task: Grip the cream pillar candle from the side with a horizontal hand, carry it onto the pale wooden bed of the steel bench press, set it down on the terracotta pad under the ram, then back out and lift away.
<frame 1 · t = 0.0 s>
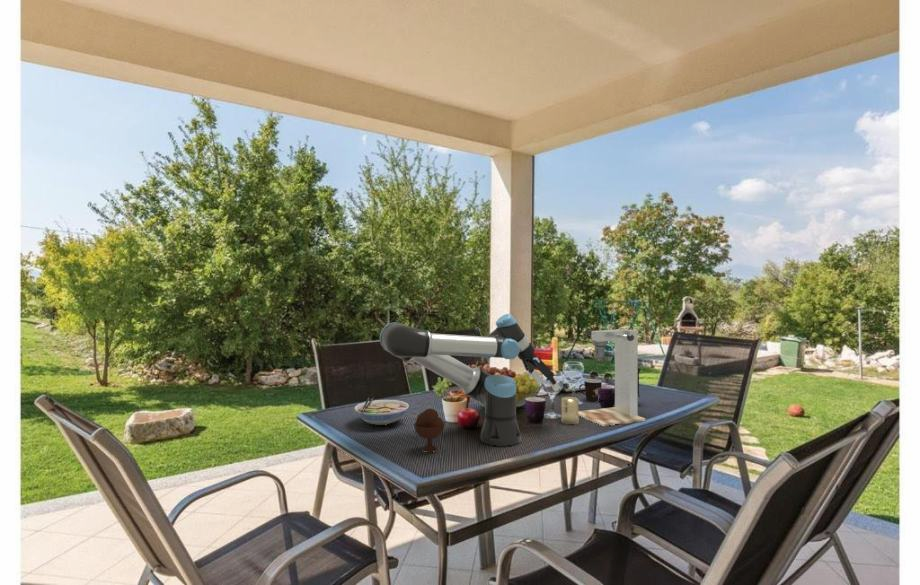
hand: (549, 386, 197), 15 cm above the table, tool tilted 35°, fingers open, 13 cm apart
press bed: (609, 417, 204), on the table
canister: (628, 404, 226), on the table
press frame: (617, 374, 201), on the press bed, point 20 cm above the table
cream pillar candle: (570, 422, 197), on the table
coffee mug: (589, 401, 233), on the table
ramen bowl: (382, 423, 197), on the table
ice cream bowl: (429, 450, 164), on the table
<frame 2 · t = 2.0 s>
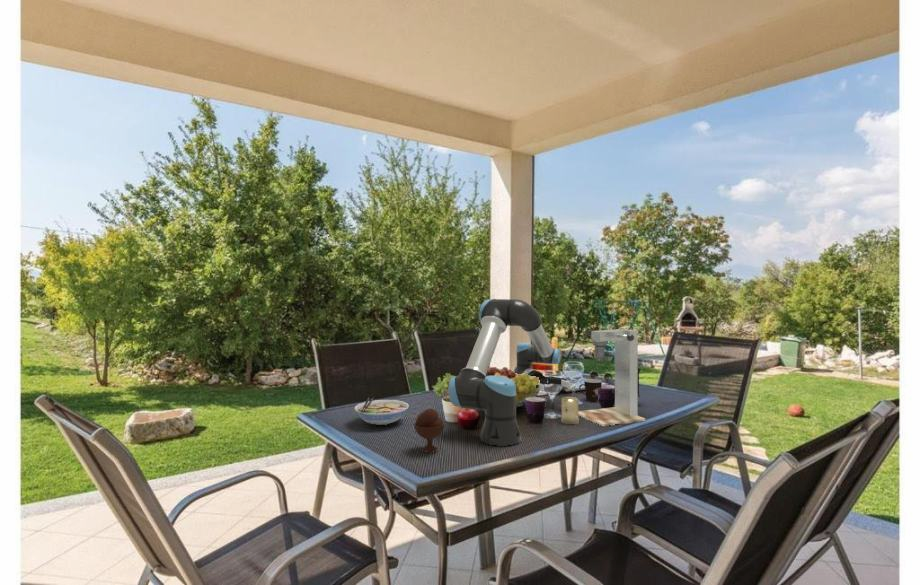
hand: (556, 386, 207), 13 cm above the table, tool horizontal, fingers open, 13 cm apart
nothing on the table moved.
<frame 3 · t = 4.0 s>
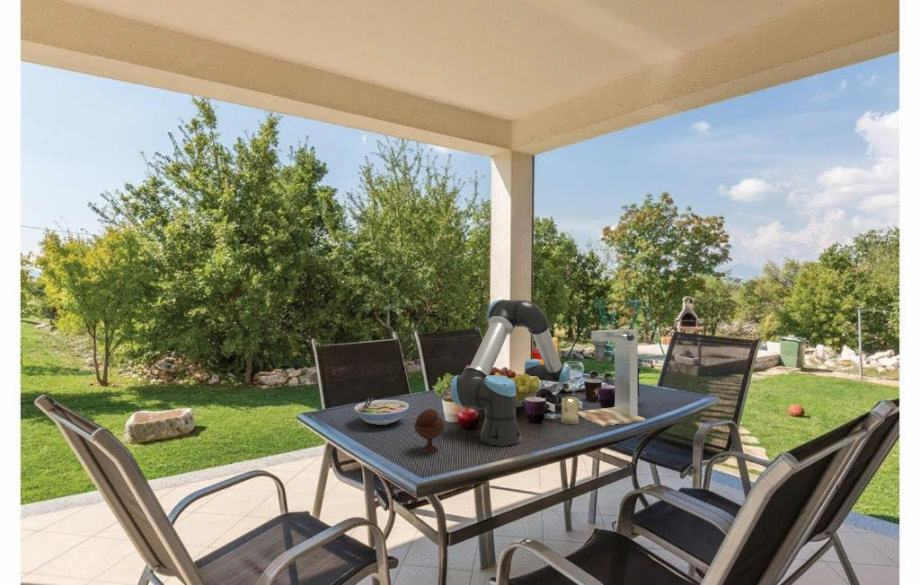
hand: (567, 407, 199), 6 cm above the table, tool horizontal, fingers open, 13 cm apart
nothing on the table moved.
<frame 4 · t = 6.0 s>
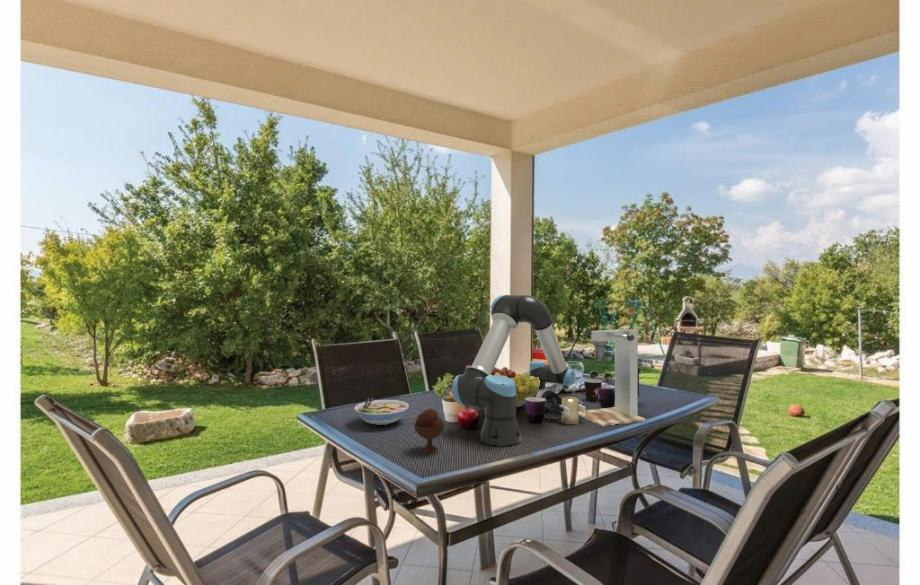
hand: (576, 410, 192), 6 cm above the table, tool horizontal, fingers closed on cream pillar candle, 7 cm apart
cream pillar candle: (570, 422, 197), on the table, touching gripper
everything else where it was.
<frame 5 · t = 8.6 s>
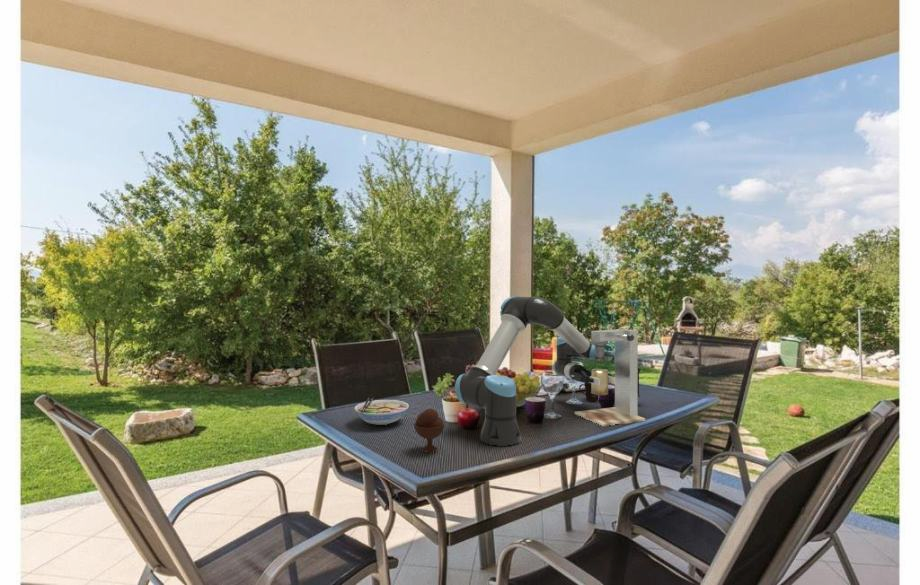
hand: (606, 381, 197), 17 cm above the table, tool horizontal, fingers closed on cream pillar candle, 7 cm apart
cream pillar candle: (599, 393, 202), point 11 cm above the table, touching gripper
everything else where it was.
when the fingers open (8 cm above the table, at t = 11.5 s): cream pillar candle drops 1 cm, resting on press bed.
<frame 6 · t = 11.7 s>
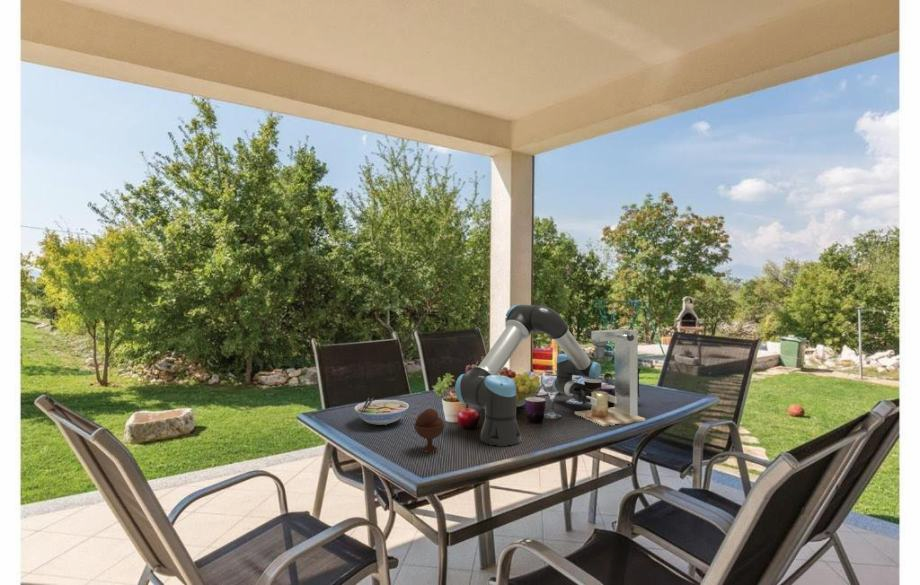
hand: (606, 401, 198), 8 cm above the table, tool horizontal, fingers open, 9 cm apart
cream pillar candle: (599, 415, 202), point 1 cm above the table, touching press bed
everything else where it was.
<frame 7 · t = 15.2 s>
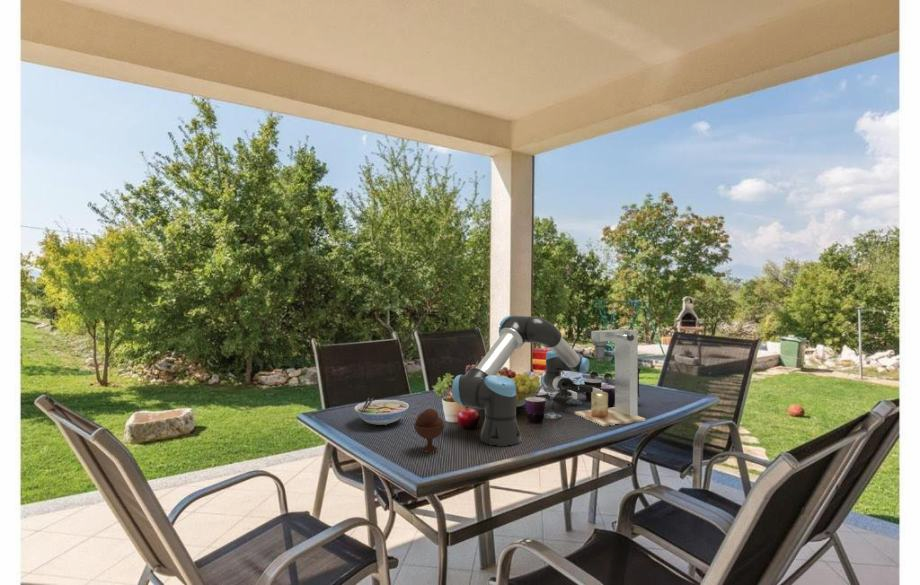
hand: (589, 394, 209), 9 cm above the table, tool horizontal, fingers open, 13 cm apart
nothing on the table moved.
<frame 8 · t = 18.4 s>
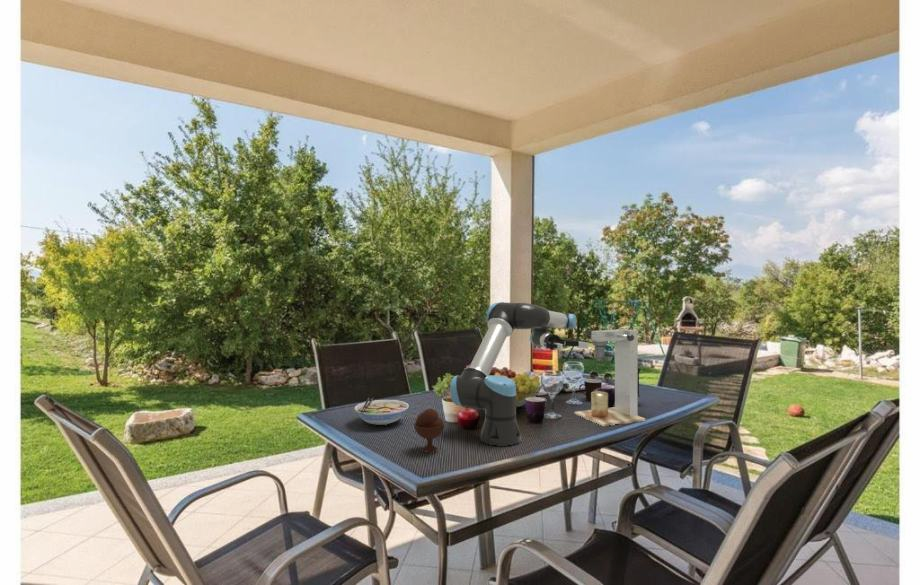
hand: (574, 346, 212), 30 cm above the table, tool horizontal, fingers open, 13 cm apart
nothing on the table moved.
at the end: cream pillar candle inside the target area on the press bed (0.1 cm from its centre), point 1.1 cm above the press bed's base; cream pillar candle tilted 0°; the gripper is holding nothing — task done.
